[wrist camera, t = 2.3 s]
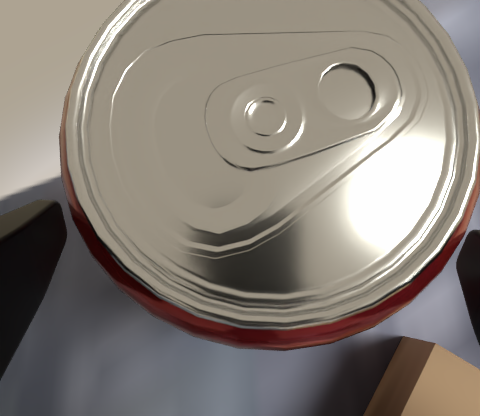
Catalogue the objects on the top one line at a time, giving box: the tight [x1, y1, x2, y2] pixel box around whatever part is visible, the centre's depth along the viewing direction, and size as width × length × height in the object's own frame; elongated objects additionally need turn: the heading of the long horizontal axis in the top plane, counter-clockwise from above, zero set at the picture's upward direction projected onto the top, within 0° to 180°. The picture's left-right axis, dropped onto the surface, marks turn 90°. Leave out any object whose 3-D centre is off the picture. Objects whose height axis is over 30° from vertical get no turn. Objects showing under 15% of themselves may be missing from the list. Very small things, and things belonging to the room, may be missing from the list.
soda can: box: [59, 0, 480, 351], centre depth 12 cm, size 7×7×12 cm
